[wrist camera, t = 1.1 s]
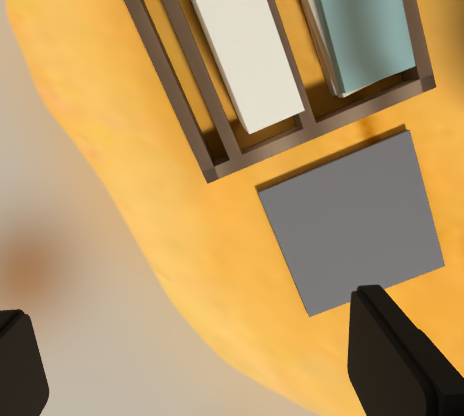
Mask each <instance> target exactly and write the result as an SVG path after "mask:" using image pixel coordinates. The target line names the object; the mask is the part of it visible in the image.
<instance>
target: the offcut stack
mask: <svg viewBox="0 0 464 416" xmlns="http://www.w3.org/2000/svg"><path fill="white" fill-rule="evenodd" d="M300 1H301V4H302V7H303V10H304V13H305V16H306V19H307V22H308V26H309V29H310V32H311V35H312V38H313V41H314V44H315V48H316V51H317V54H318V57H319V60H320V63H321V66H322V69H323V73H324V76H325V79H326V82H327V85H328V88H329V91H330V95H331V96H336V95H338V98H344V97H346V96H348V95H350V94H352V93H354V92H356V91H358V90H360V89H362V88H364V87H366V86H368V85H370V84H372V83H374V82H377V81H379V80H381V79H384V78H386V77H389V76H391V75H394V74H396V73H399V72H401V71H404V70H407V69H409V68H412V67H414V66H416V65H415V60H414V55H413V50H412V45H411V40H410V36H409V31H408V26H407V21H406V16H405V11H404V6H403V1H402V0H300Z"/></svg>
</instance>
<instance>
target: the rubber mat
mask: <svg viewBox="0 0 464 416" xmlns="http://www.w3.org/2000/svg"><path fill="white" fill-rule="evenodd" d="M257 192H258V194H259V197H260V199H261V202H262V204H263V206H264V209H265V211H266V214H267V216H268V219H269V221H270V223H271V226H272V228H273V231H274V233H275V235H276V238H277V240H278V243H279V245H280V248H281V250H282V252H283V255H284V257H285V260H286V262H287V265H288V267H289V269H290V272H291V274H292V277H293V279H294V281H295V284H296V286H297V289H298V291H299V294H300V296H301V298H302V301H303V303H304V306H305V308H306V310H307V313H308V315H309V317H311V316H314V315H316V314H319V313H322V312H324V311H327V310H329V309H332V308H335V307H337V306H340V305H343V304H345V303H348V302H351V293H352V291H357V287H358V286H362V285H376V284H378V285H380V286H381V287H382V288H383V289H385V288H388V287H391V286H393V285H396V284H399V283H401V282H404V281H407V280H409V279H412V278H415V277H417V276H420V275H422V274H425V273H428V272H430V271H433V270H436V269H438V268H441V267H444V266H445V264H444V260H443V256H442V252H441V248H440V244H439V241H438V237H437V233H436V229H435V225H434V221H433V218H432V214H431V210H430V206H429V202H428V198H427V195H426V191H425V187H424V183H423V179H422V175H421V172H420V168H419V164H418V160H417V156H416V152H415V149H414V145H413V141H412V137H411V133H410V130H405V131H402V132H400V133H397V134H395V135H393V136H390V137H388V138H385V139H383V140H380V141H378V142H376V143H373V144H371V145H368V146H366V147H364V148H361V149H359V150H356V151H354V152H352V153H349V154H347V155H344V156H342V157H339V158H337V159H335V160H332V161H330V162H327V163H325V164H323V165H320V166H318V167H315V168H313V169H311V170H308V171H306V172H303V173H301V174H298V175H296V176H294V177H291V178H289V179H286V180H284V181H282V182H279V183H277V184H274V185H272V186H270V187H267V188H265V189H262V190H260V191H257Z"/></svg>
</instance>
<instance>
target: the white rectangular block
mask: <svg viewBox="0 0 464 416" xmlns="http://www.w3.org/2000/svg"><path fill="white" fill-rule="evenodd" d="M191 3H192V5H193V8H194V10H195V13H196V15H197V17H198V20H199V22H200V25H201V27H202V30H203V32H204V35H205V37H206V40H207V42H208V45H209V47H210V50H211V52H212V55H213V57H214V60H215V62H216V64H217V67H218V69H219V72H220V74H221V77H222V79H223V82H224V84H225V87H226V89H227V92H228V94H229V97H230V99H231V102H232V104H233V107H234V109H235V112H236V114H237V116H238V119H239V121H240V124H241V125H242V126H243V127H244V128H245V130H246V131H247V132H248V133H249V134H251V133H254V132H256V131H258V130H261V129H263V128H265V127H268V126H270V125H272V124H274V123H277V122H279V121H281V120H284V119H286V118H288V117H291V116H293V115H295V114H298V113H300V112H302V111H305V110H304V107H303V104H302V101H301V98H300V95H299V92H298V89H297V86H296V83H295V81H294V78H293V75H292V72H291V69H290V66H289V63H288V60H287V57H286V54H285V52H284V49H283V46H282V43H281V40H280V37H279V34H278V31H277V28H276V26H275V23H274V20H273V17H272V14H271V11H270V8H269V5H268V2H267V0H191Z"/></svg>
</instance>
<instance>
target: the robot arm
mask: <svg viewBox="0 0 464 416" xmlns="http://www.w3.org/2000/svg"><path fill="white" fill-rule="evenodd" d="M347 367H348V375H349V378H350V381H351V383H352V385H353V387H354V389H355V392H356V394H357V396H358V398H359V400H360V402H361V404H362V407H363V409H364V411H365V413H366V415H367V416H464V378H463V377H462V376H461V375H460V373H459V372H458V371H457V370H456V369H455V368H454V367H453V365H452V364H451V363H450V362H449V361H448V360H447V359H446V357H445V356H444V355H443V354H442V353H441V352H440V351H439V349H438V348H437V347H436V346H435V345H434V344H433V343H432V341H431V340H430V339H429V338H428V337H427V336H426V335H425V333H423V332H422V331H421V330H420V329H417V327H416V326H415V325H414V324H413V323H412V322H411V320H410V319H409V318H408V317H407V316H406V315H405V313H404V312H403V311H402V310H401V309H400V308H399V307H398V305H397V304H396V303H395V302H394V301H393V300H392V298H391V297H390V296H389V295H388V294H387V293H386V292H385V290H384V289H383V288H382V287H381V286H380V285H378V284H376V285H362V286H358V287H357V291H352V293H351V303H350V324H349V344H348V365H347ZM48 397H49V387H48V383H47V379H46V375H45V372H44V368H43V364H42V361H41V356H40V353H39V349H38V345H37V342H36V338H35V334H34V330H33V326H32V323H31V319H30V317H29V316H28V314H24V312H23V311H22V310H20V309H18V310H3V311H0V416H39V415H40V414H41V412H42V410H43V408H44V407H45V405H46V403H47V400H48Z"/></svg>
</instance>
